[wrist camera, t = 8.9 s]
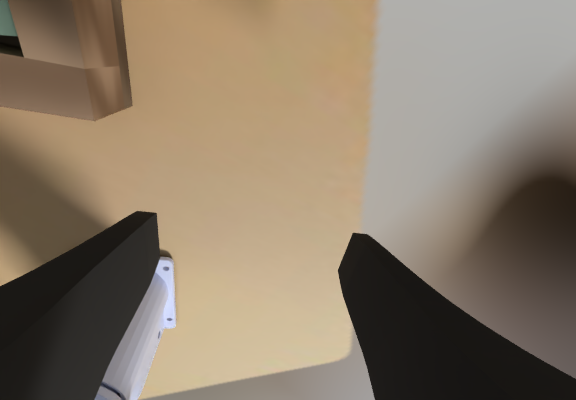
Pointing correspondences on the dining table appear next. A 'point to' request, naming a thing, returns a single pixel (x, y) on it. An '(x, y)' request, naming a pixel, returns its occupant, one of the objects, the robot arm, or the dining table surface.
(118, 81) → the hole block
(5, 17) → the square peg
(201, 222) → the dining table surface
